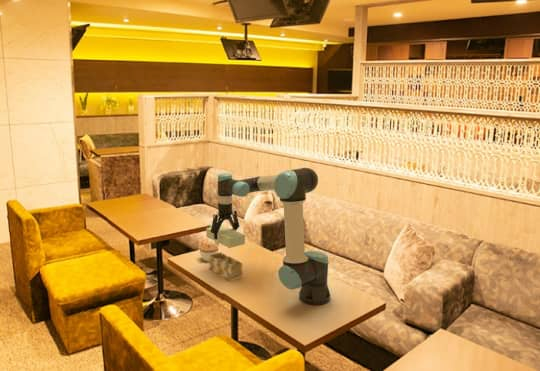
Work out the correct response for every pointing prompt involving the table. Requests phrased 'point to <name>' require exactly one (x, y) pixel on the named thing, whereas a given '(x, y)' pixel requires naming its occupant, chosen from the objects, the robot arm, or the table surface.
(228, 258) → the napkin box
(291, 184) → the robot arm
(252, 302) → the table surface
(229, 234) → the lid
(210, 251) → the lidded jar
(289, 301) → the table surface
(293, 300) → the table surface
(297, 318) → the table surface
